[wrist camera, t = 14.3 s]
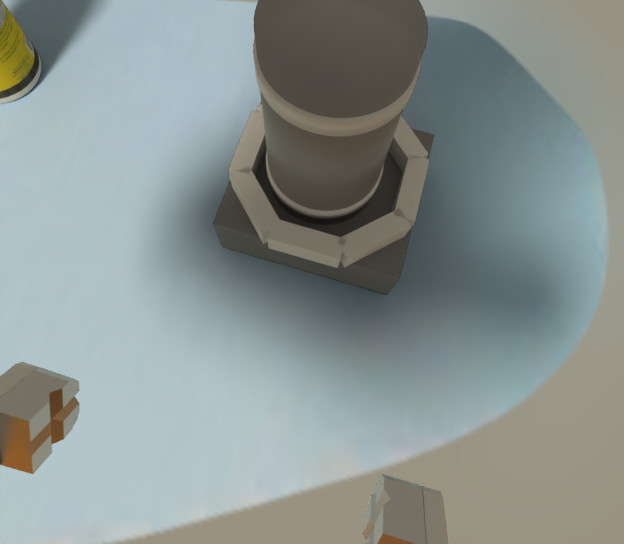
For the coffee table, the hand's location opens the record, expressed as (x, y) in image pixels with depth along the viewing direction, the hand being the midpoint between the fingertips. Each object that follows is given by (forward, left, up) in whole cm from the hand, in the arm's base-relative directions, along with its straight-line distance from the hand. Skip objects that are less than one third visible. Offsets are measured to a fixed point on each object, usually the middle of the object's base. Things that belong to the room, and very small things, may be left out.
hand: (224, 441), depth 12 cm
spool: (0, +12, -7) cm, 14 cm away
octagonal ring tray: (0, +12, -10) cm, 16 cm away
